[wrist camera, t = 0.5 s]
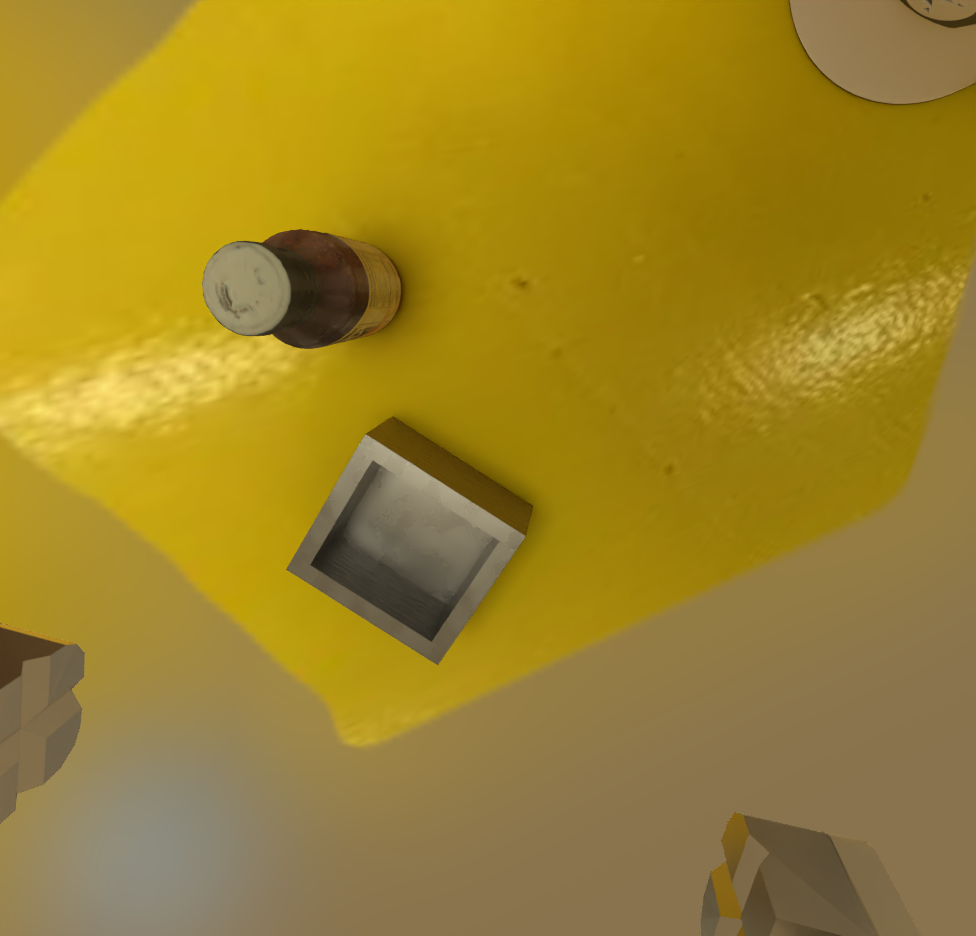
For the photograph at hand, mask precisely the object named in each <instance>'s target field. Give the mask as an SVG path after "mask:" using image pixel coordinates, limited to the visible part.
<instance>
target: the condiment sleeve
mask: <svg viewBox="0 0 976 936" xmlns="http://www.w3.org/2000/svg"><path fill="white" fill-rule="evenodd" d="M532 507H533V506H532V505H530V504H529V503H527V502H525V501H524V500H522V499H521V498H519V497H518V496H516V495H514V494H513V493H511V492H510V491H508V490H507V489H505V488H503V487H502V486H500V485H499V484H497V483H496V482H494V481H493V480H491V479H489V478H488V477H486V476H485V475H483V474H482V473H480V472H478V471H477V470H475V469H474V468H472V467H471V466H469V465H467V464H466V463H464V462H463V461H461V460H460V459H458V458H457V457H455V456H453V455H452V454H450V453H449V452H447V451H446V450H444V449H442V448H441V447H439V446H438V445H436V444H435V443H433V442H432V441H430V440H428V439H427V438H425V437H424V436H422V435H421V434H419V433H417V432H416V431H414V430H413V429H411V428H410V427H408V426H406V425H405V424H403V423H402V422H400V421H399V420H397V419H396V418H394V417H391V418H390V419H388V420H386V421H385V422H383V423H382V424H380V425H379V426H377V427H376V428H374V429H373V430H371V431H369V432H368V433H366V434H365V436H364V437H363V439H362V441H361V443H360V444H359V446H358V448H357V449H356V451H355V453H354V455H353V456H352V458H351V460H350V461H349V463H348V465H347V466H346V468H345V470H344V472H343V473H342V475H341V477H340V478H339V480H338V482H337V484H336V485H335V487H334V489H333V490H332V492H331V494H330V496H329V497H328V499H327V501H326V502H325V504H324V506H323V508H322V509H321V511H320V513H319V514H318V516H317V518H316V519H315V521H314V523H313V525H312V526H311V528H310V530H309V531H308V533H307V535H306V537H305V538H304V540H303V542H302V543H301V545H300V547H299V549H298V550H297V552H296V554H295V555H294V557H293V559H292V560H291V562H290V564H289V566H288V567H287V569H286V570H288V571H290V572H291V573H293V574H294V575H296V576H298V577H299V578H301V579H302V580H304V581H305V582H307V583H309V584H310V585H312V586H313V587H315V588H317V589H318V590H320V591H321V592H323V593H324V594H326V595H328V596H329V597H331V598H332V599H334V600H336V601H337V602H339V603H340V604H342V605H343V606H345V607H347V608H348V609H350V610H351V611H353V612H354V613H356V614H358V615H359V616H361V617H362V618H364V619H366V620H367V621H369V622H370V623H372V624H373V625H375V626H377V627H378V628H380V629H381V630H383V631H385V632H386V633H388V634H389V635H391V636H392V637H394V638H396V639H397V640H399V641H400V642H402V643H404V644H405V645H407V646H408V647H410V648H411V649H413V650H415V651H416V652H418V653H419V654H421V655H422V656H424V657H426V658H427V659H429V660H430V661H432V662H434V663H435V664H437V665H438V664H439V662H440V661H441V660H442V658H443V657H444V655H445V654H446V652H447V651H448V649H449V648H450V646H451V645H452V643H453V642H454V641H455V639H456V638H457V636H458V635H459V633H460V632H461V630H462V629H463V627H464V626H465V624H466V623H467V622H468V620H469V619H470V617H471V616H472V614H473V613H474V611H475V610H476V608H477V607H478V605H479V604H480V602H481V601H482V600H483V598H484V597H485V595H486V594H487V592H488V591H489V589H490V588H491V586H492V585H493V583H494V582H495V581H496V579H497V578H498V576H499V575H500V573H501V572H502V570H503V569H504V567H505V566H506V564H507V563H508V562H509V560H510V559H511V557H512V556H513V554H514V553H515V551H516V550H517V548H518V547H519V545H520V544H521V542H522V541H523V540H524V538H525V537H526V533H527V529H528V524H529V520H530V516H531V512H532Z"/></svg>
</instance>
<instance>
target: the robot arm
mask: <svg viewBox="0 0 976 936" xmlns="http://www.w3.org/2000/svg"><path fill="white" fill-rule="evenodd" d="M790 6H791V12H792V17H793V21H794V24H795V27H796V31H797V33H798V36H799V38H800V40H801V42H802V44H803V46H804V48H805V50H806V52H807V53H808V55H809V56H810V58H811V59H812V61H813V62H814V63H815V64H816V66H817V67H818V68H819V69H820V70H821V71H822V72H823V73H824V74H825V75H826V76H827V77H828V78H829V79H831V80H832V81H833V82H834V83H836V84H837V85H839V86H840V87H842V88H843V89H845V90H847V91H849V92H851V93H853V94H855V95H857V96H860V97H863V98H866V99H869V100H873V101H877V102H883V103H893V104H910V103H919V102H925V101H930V100H934V99H938V98H941V97H944V96H947V95H949V94H952V93H954V92H957V91H959V90H961V89H963V88H965V87H967V86H970V85H972V84H974V83H976V0H790ZM84 654H85V653H84V652H83V651H82V649H81V648H80V647H79V646H78V645H77V644H74V643H71V642H67V641H64V640H61V639H57V638H53V637H50V636H46V635H43V634H39V633H35V632H32V631H28V630H24V629H21V628H17V627H13V626H10V625H7V624H5V625H3V624H1V623H0V824H1V823H2V822H3V820H5V819H6V818H7V817H8V816H9V815H10V814H12V813H13V812H14V811H15V808H16V799H17V794H18V793H21V792H24V791H27V790H29V789H32V788H35V787H38V786H41V785H43V784H44V783H45V782H46V781H47V780H49V778H51V777H52V776H53V775H54V774H55V773H56V772H57V771H58V770H59V769H60V768H61V766H62V765H63V763H64V761H65V760H66V758H67V756H68V755H69V753H70V752H71V750H72V748H73V747H74V745H75V742H76V738H77V735H78V732H79V729H80V723H81V711H82V708H81V706H80V704H79V702H78V701H77V699H76V697H75V695H74V693H73V692H72V690H71V689H72V688H73V687H74V686H75V685H76V684H77V683H78V682H79V681H80V680H81V679H82V678H83V677H84ZM721 842H722V846H723V850H724V854H725V858H726V862H725V863H723V864H721V865H720V866H719V867H717V868H716V869H714V870H713V871H711V872H710V876H709V879H708V883H707V886H706V890H705V893H704V896H703V905H702V913H701V936H921V934H920V932H919V930H918V928H917V926H916V925H915V923H914V921H913V919H912V917H911V915H910V913H909V912H908V910H907V908H906V906H905V904H904V902H903V900H902V899H901V897H900V895H899V893H898V891H897V889H896V887H895V886H894V884H893V882H892V880H891V878H890V876H889V874H888V873H887V871H886V869H885V867H884V865H883V863H882V862H881V860H880V858H879V856H878V854H877V852H876V850H875V849H874V848H873V847H872V846H871V845H869V844H868V843H867V842H866V841H862V840H858V839H853V838H849V837H844V836H839V835H835V834H830V833H825V832H817V831H812V830H809V829H804V828H800V827H796V826H792V825H788V824H783V823H779V822H775V821H771V820H766V819H762V818H758V817H754V816H750V815H745V814H741V813H737V812H734V813H733V815H732V817H731V818H730V819H729V821H728V822H727V825H726V828H725V831H724V834H723V837H722V840H721Z"/></svg>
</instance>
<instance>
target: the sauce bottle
mask: <svg viewBox="0 0 976 936" xmlns="http://www.w3.org/2000/svg"><path fill="white" fill-rule="evenodd" d="M202 285H203V296H204V299H205V302H206V304H207V307H208V308H209V309H210V311H211V313H212V314H213V316H214V317H215V318H216V319H217V321H218V322H219V323H220V324H222V325H223V326H224V327H225V328H227V329H228V330H230V331H232V332H234V333H237V334H239V335H244V336H265V335H270V334H273V335H274V336H275V337H276V338H277V339H279V340H280V341H282V342H284V343H285V344H288V345H291V346H293V347H297V348H304V349H313V348H319V347H324V346H329V345H332V344H336V343H341V342H345V341H349V340H353V339H357V338H361V337H366V336H369V335H372V334H374V333H376V332H378V331H380V330H381V329H383V328H384V327H385V326H386V325H387V324H388V323H389V322H390V321H391V320H392V318H393V317H394V315H395V313H396V312H397V310H398V308H399V305H400V303H401V300H402V290H401V287H402V286H401V282H400V278H399V275H398V273H397V270H396V267H395V265H394V263H393V261H392V260H391V259H389V258H387V256H386V255H385V254H383V253H382V252H381V251H380V250H378V249H377V248H375V247H373V246H371V245H369V244H366V243H363V242H359V241H355V240H351V239H348V238H344V237H340V236H336V235H332V234H328V233H321V232H317V231H309V230H302V229H299V230H290V231H285V232H281V233H277V234H276V235H274V236H271V237H270V238H269V239H267V240H265V241H264V242H263V243H259V242H250V241H237V242H233V243H230V244H227V245H225V246H223V247H222V248H221V249H219V250H218V251H217V252H216V253H215V254H214V255H213V256H212V258H211V259H210V260H209V261H208V263H207V266H206V268H205V271H204V276H203V282H202Z"/></svg>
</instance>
